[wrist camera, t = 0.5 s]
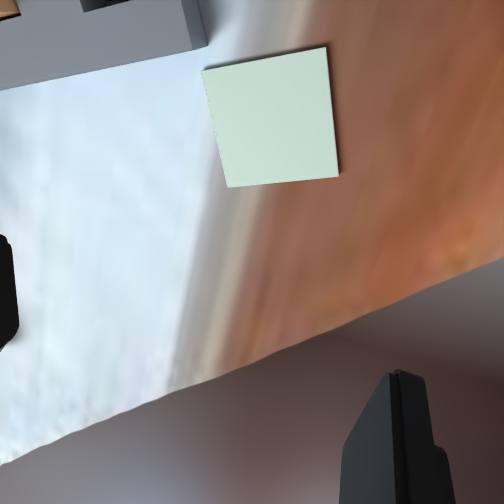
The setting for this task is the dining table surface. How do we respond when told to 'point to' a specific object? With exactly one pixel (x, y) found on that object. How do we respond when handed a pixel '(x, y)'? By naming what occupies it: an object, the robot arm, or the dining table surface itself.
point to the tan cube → (8, 8)
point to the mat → (274, 118)
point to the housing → (92, 36)
